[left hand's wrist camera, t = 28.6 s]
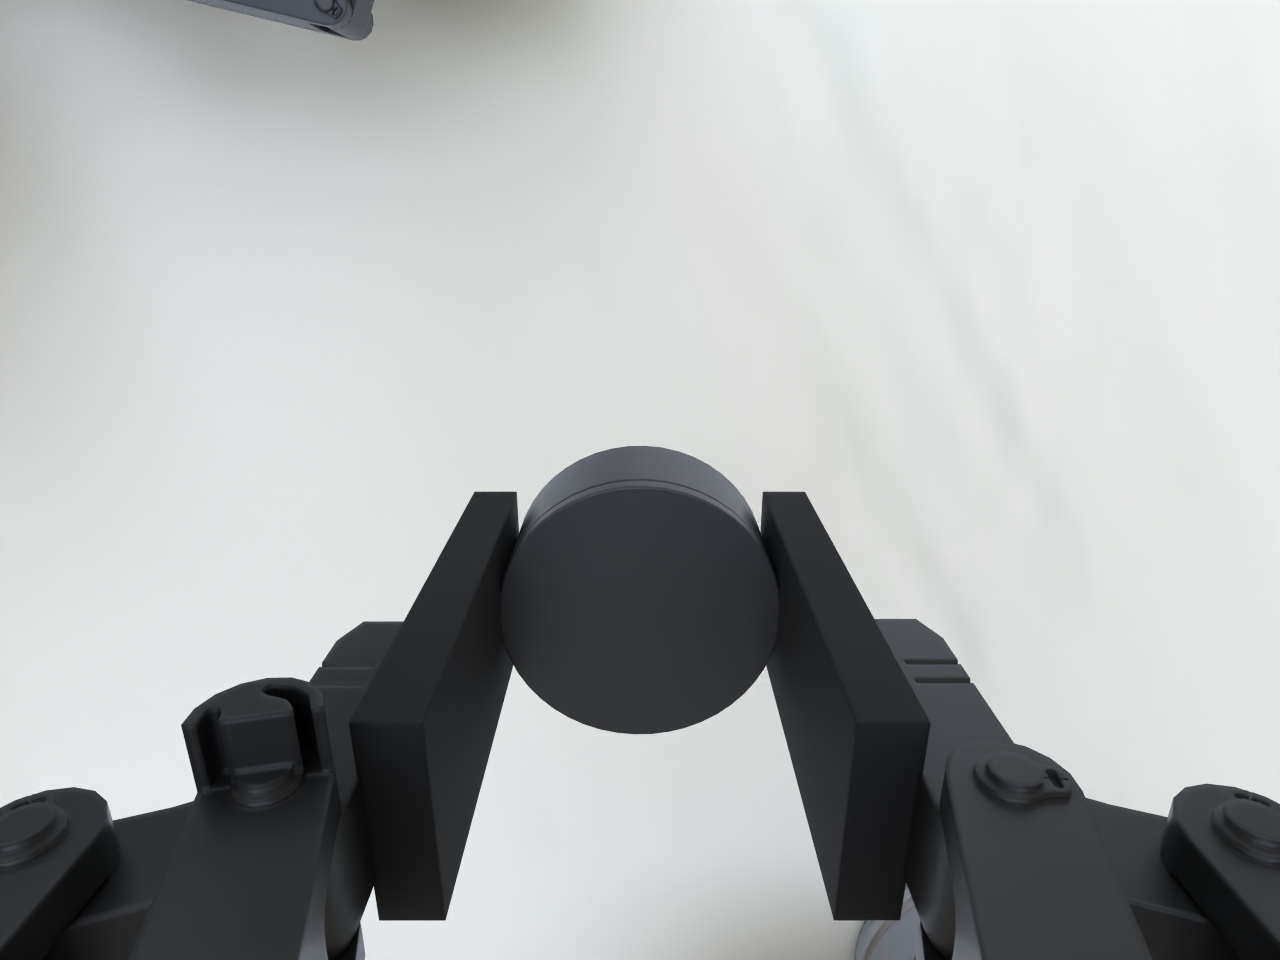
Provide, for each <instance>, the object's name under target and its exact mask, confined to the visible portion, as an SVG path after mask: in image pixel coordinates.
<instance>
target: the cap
mask: <svg viewBox="0 0 1280 960" xmlns="http://www.w3.org/2000/svg"><path fill="white" fill-rule="evenodd" d="M779 599H780V593H779V587H778V584H777V580H776V576H775V573H774V570H773V567H772V564H771V561H770V559H769V556H768V553H767V550H766V547H765V544H764V542H763V539H762V536H761V533H760V530H759V527H758V525H757V522H756V520H755V518H754V515H753V513H752V510H751V509H750V507H749V505H748V504H747V502H746V500H745V499H744V497H743V496H742V495H741V494H740V492H739V491H738V490H737V489H736V487H735V486H734V485H733V484H732V483H731V482H730V481H729V480H728V479H727V478H725V477H724V476H723V475H722V474H721V473H719V472H718V471H717V470H715V469H714V468H712V467H711V466H710V465H708V464H706V463H704V462H702V461H700V460H698V459H696V458H695V457H692V456H689V455H687V454H684V453H681V452H679V451H674V450H670V449H666V448H660V447H650V446H627V447H620V448H614V449H609V450H606V451H602V452H598V453H595V454H593V455H590V456H588V457H586V458H583V459H581V460H579V461H577V462H575V463H574V464H572V465H570V466H569V467H567V468H565V469H564V470H563V471H562V472H560V473H559V474H558V475H556V476H555V477H554V478H553V479H552V480H551V481H550V482H549V483H548V484H547V485H546V486H545V487H544V488H543V489H542V490H541V492H540V493H539V494H538V496H537V497H536V498H535V500H534V501H533V503H532V504H531V506H530V508H529V510H528V512H527V514H526V516H525V519H524V521H523V524H522V527H521V530H520V532H519V535H518V538H517V541H516V544H515V547H514V550H513V552H512V555H511V558H510V561H509V564H508V567H507V570H506V572H505V575H504V578H503V582H502V587H501V592H500V608H501V623H502V636H503V641H504V645H505V647H506V650H507V652H508V655H509V657H510V659H511V661H512V663H513V665H514V666H515V668H516V670H517V671H518V673H519V675H520V676H521V677H522V678H523V680H524V681H525V682H526V684H527V685H528V686H529V687H530V688H531V689H532V690H533V691H534V692H535V693H536V694H537V695H538V696H539V697H540V698H541V699H542V700H543V701H545V702H546V703H547V704H549V705H550V706H551V707H553V708H554V709H555V710H557V711H559V712H561V713H562V714H564V715H566V716H567V717H569V718H571V719H574V720H576V721H578V722H580V723H583V724H585V725H588V726H592V727H595V728H598V729H601V730H606V731H611V732H616V733H627V734H654V733H662V732H669V731H673V730H677V729H682V728H686V727H688V726H691V725H694V724H697V723H699V722H702V721H704V720H706V719H708V718H710V717H712V716H714V715H716V714H718V713H719V712H721V711H722V710H724V709H725V708H727V707H728V706H730V705H731V704H732V703H734V702H735V701H736V700H737V699H738V698H740V697H741V696H742V695H743V694H744V693H745V692H746V691H747V690H748V689H749V688H750V687H751V685H752V684H753V683H754V682H755V681H756V679H757V678H758V677H759V675H760V674H761V672H762V671H763V669H764V668H765V666H766V664H767V662H768V660H769V658H770V656H771V654H772V652H773V649H774V646H775V643H776V640H777V629H778V615H779Z"/></svg>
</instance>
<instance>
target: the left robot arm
mask: <svg viewBox="0 0 1280 960" xmlns="http://www.w3.org/2000/svg"><path fill="white" fill-rule="evenodd" d="M518 535H519V525H518V508H517V492H474V494H473V496H472V498H471V500H470V501H469V503H468V505H467V507H466V509H465V511H464V512H463V514H462V516H461V518H460V520H459V522H458V523H457V525H456V527H455V529H454V531H453V533H452V534H451V536H450V538H449V540H448V542H447V543H446V545H445V547H444V549H443V551H442V553H441V554H440V556H439V558H438V560H437V562H436V564H435V565H434V567H433V569H432V571H431V573H430V575H429V576H428V578H427V580H426V582H425V584H424V586H423V587H422V589H421V591H420V593H419V595H418V597H417V598H416V600H415V602H414V604H413V606H412V608H411V609H410V611H409V613H408V615H407V617H406V619H405V620H404V622H363V623H361V624H360V625H358V626H357V627H356V628H354V629H353V630H351V631H350V632H349V633H347V634H346V635H344V636H343V637H341V638H340V639H339V640H337V641H336V643H335V644H334V646H333V647H332V649H331V650H330V652H329V653H328V655H327V656H326V658H325V659H324V661H323V662H322V667H319V668H318V670H317V671H316V673H315V674H314V676H313V677H312V679H311V680H310V682H307V681H303V680H299V679H295V678H265V679H261V680H256V681H252V682H247V683H243V684H239V685H237V686H235V687H232V688H230V689H227V690H225V691H223V692H220V693H218V694H215V695H214V696H213V697H211V698H210V699H208V700H207V701H205V702H204V703H202V704H201V705H199V706H198V707H196V708H195V709H194V710H193V711H192V712H191V714H190V715H189V716H188V717H187V719H186V720H185V721H184V722H183V723H182V725H181V726H182V730H183V734H184V738H185V743H186V747H187V751H188V755H189V759H190V763H191V767H192V771H193V775H194V779H195V783H196V788H197V792H198V793H197V795H196V797H195V800H194V801H193V802H189V803H186V804H182V805H179V806H175V807H172V808H168V809H163V810H159V811H154V812H150V813H145V814H141V815H136V816H132V817H127V818H123V819H118V820H114V821H112V817H111V814H110V811H109V807H108V804H107V801H106V800H105V799H103V798H102V797H101V796H100V795H99V794H98V793H97V792H96V791H92V790H86V789H81V788H75V787H72V788H64V789H55V790H47V791H43V792H40V793H37V794H33V795H31V796H26V797H24V798H21V799H18V800H15V801H13V802H11V803H9V804H7V805H5V806H3V807H1V808H0V960H365V950H364V942H363V935H362V929H361V923H360V920H361V918H362V915H363V912H364V910H365V907H366V905H367V902H368V899H369V897H370V894H371V891H372V889H373V886H374V889H375V896H376V902H377V909H378V915H379V920H446V916H447V912H448V909H449V905H450V901H451V897H452V894H453V890H454V886H455V882H456V878H457V875H458V871H459V867H460V863H461V860H462V856H463V852H464V848H465V845H466V841H467V837H468V833H469V830H470V826H471V822H472V818H473V815H474V811H475V807H476V803H477V799H478V796H479V792H480V788H481V784H482V781H483V777H484V773H485V769H486V766H487V762H488V758H489V754H490V751H491V747H492V743H493V739H494V735H495V732H496V728H497V724H498V720H499V717H500V713H501V709H502V705H503V702H504V698H505V694H506V690H507V687H508V683H509V679H510V675H511V671H512V668H513V663H512V661H511V659H510V657H509V655H508V652H507V650H506V647H505V645H504V641H503V636H502V623H501V608H500V592H501V587H502V582H503V578H504V575H505V572H506V570H507V567H508V564H509V561H510V558H511V555H512V552H513V550H514V547H515V544H516V541H517V538H518ZM761 536H762V539H763V542H764V544H765V547H766V550H767V553H768V556H769V559H770V561H771V564H772V567H773V570H774V573H775V576H776V580H777V584H778V587H779V593H780V599H779V615H778V629H777V640H776V643H775V646H774V649H773V652H772V654H771V656H770V658H769V660H768V662H767V664H766V666H767V670H768V673H769V677H770V681H771V685H772V688H773V692H774V696H775V700H776V704H777V707H778V711H779V715H780V719H781V722H782V726H783V730H784V734H785V737H786V741H787V745H788V749H789V752H790V756H791V760H792V764H793V768H794V771H795V775H796V779H797V783H798V786H799V790H800V794H801V798H802V801H803V805H804V809H805V813H806V816H807V820H808V824H809V828H810V832H811V835H812V839H813V843H814V847H815V850H816V854H817V858H818V862H819V865H820V869H821V873H822V877H823V881H824V884H825V888H826V892H827V896H828V899H829V903H830V907H831V911H832V914H833V918H834V920H867V921H866V923H865V924H864V926H863V928H862V931H861V933H860V936H859V939H858V942H857V947H856V953H855V960H1280V804H1279V803H1277V802H1275V801H1273V800H1271V799H1269V798H1267V797H1264V796H1261V795H1258V794H1256V793H1253V792H1252V793H1251V792H1248V791H1246V790H1242V789H1239V788H1236V787H1230V786H1221V785H1213V784H1202V785H1197V786H1191V787H1185V788H1184V789H1183V790H1182V791H1181V792H1180V793H1178V794H1177V795H1176V796H1175V797H1174V798H1173V801H1172V805H1171V808H1170V812H1169V815H1168V817H1163V816H1159V815H1154V814H1150V813H1145V812H1141V811H1136V810H1132V809H1127V808H1123V807H1118V806H1114V805H1109V804H1106V803H1102V802H1099V801H1095V800H1092V799H1088V798H1085V796H1084V794H1083V791H1082V790H1081V788H1080V787H1079V786H1078V784H1077V783H1076V781H1075V780H1074V778H1073V777H1072V776H1071V774H1070V773H1069V772H1067V771H1066V770H1065V769H1064V768H1062V767H1061V766H1060V765H1058V764H1057V763H1056V762H1055V761H1053V760H1052V759H1051V758H1049V757H1047V756H1045V755H1043V754H1040V753H1038V752H1036V751H1034V750H1032V749H1030V748H1028V747H1025V746H1021V745H1017V744H1014V743H1013V741H1012V740H1011V738H1010V737H1009V735H1008V734H1007V732H1006V731H1005V729H1004V728H1003V726H1002V725H1001V723H1000V722H999V721H998V719H997V718H996V716H995V715H994V713H993V712H992V710H991V709H990V707H989V706H988V704H987V703H986V701H985V700H984V698H983V697H982V695H981V694H980V692H979V691H978V689H977V688H976V686H975V685H974V684H973V683H970V678H969V676H968V675H967V673H966V672H965V670H964V669H963V667H962V666H961V664H958V660H957V658H956V657H955V655H954V654H953V652H952V651H951V649H950V648H949V647H948V645H947V644H946V642H945V641H944V639H943V638H942V637H941V636H939V635H938V634H936V633H935V632H933V631H932V630H931V629H929V628H928V627H926V626H925V625H923V624H922V623H921V622H919V621H918V620H916V619H874V618H873V616H872V614H871V612H870V610H869V609H868V607H867V605H866V603H865V601H864V599H863V598H862V596H861V594H860V592H859V590H858V588H857V587H856V585H855V583H854V581H853V579H852V577H851V576H850V574H849V572H848V570H847V568H846V566H845V565H844V563H843V561H842V559H841V557H840V556H839V554H838V552H837V550H836V548H835V546H834V545H833V543H832V541H831V539H830V537H829V535H828V534H827V532H826V530H825V528H824V526H823V524H822V523H821V521H820V519H819V517H818V515H817V513H816V512H815V510H814V508H813V506H812V504H811V502H810V501H809V499H808V497H807V495H806V493H805V492H763V499H762V516H761Z"/></svg>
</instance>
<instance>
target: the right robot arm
mask: <svg viewBox="0 0 1280 960" xmlns="http://www.w3.org/2000/svg"><path fill="white" fill-rule="evenodd" d="M189 1H193V2H197V3H202V4H206V5H210V6H214V7H218V8H222V9H226V10H230V11H234V12H239V13H243V14H247V15H251V16H255V17H259V18H263V19H267V20H272V21H276V22H280V23H284V24H288V25H292V26H296V27H300V28H304V29H309V30H313V31H317V32H321V33H325V34H329V35H333V36H337V37H341V38H346V39H350V40H362V39H364V38H367V36H368V35H369V34H370V33H371V31H372V27H373V15H372V13H371V10H372V6H373V2H374V0H189Z"/></svg>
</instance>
